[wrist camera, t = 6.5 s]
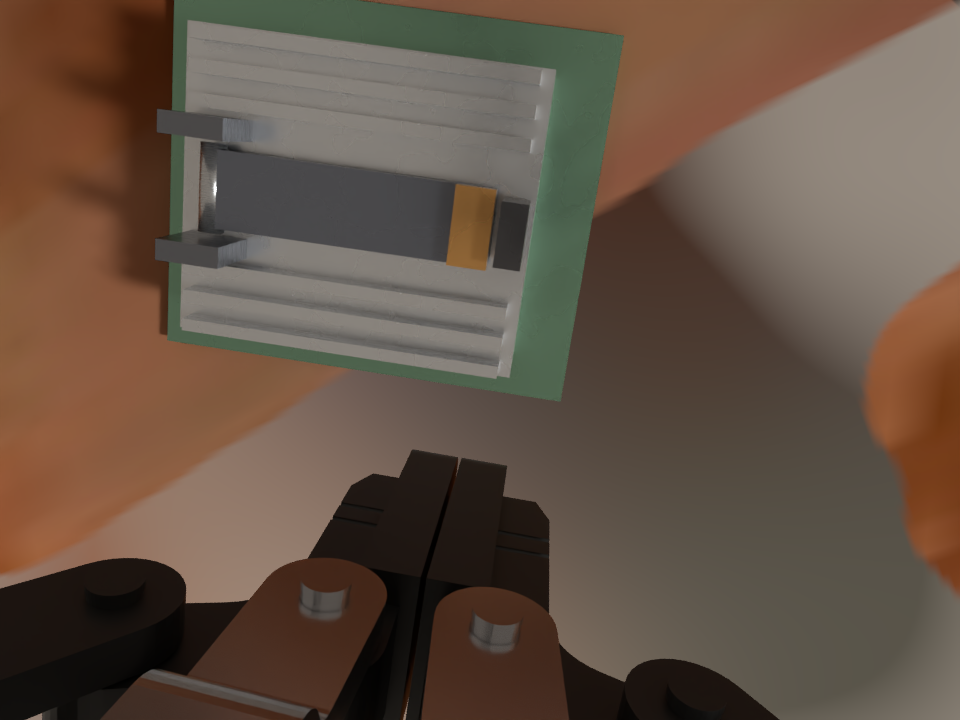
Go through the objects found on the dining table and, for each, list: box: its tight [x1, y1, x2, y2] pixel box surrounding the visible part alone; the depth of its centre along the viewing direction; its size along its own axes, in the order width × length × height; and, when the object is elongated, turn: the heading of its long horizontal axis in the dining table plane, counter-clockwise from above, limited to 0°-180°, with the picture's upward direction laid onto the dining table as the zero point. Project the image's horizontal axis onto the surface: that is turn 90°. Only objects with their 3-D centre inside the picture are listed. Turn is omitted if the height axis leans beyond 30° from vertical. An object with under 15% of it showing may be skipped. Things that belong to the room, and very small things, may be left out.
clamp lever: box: [198, 141, 498, 271], centre depth 29 cm, size 12×3×2 cm, turn 82°
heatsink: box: [155, 0, 624, 401], centre depth 31 cm, size 16×19×7 cm
